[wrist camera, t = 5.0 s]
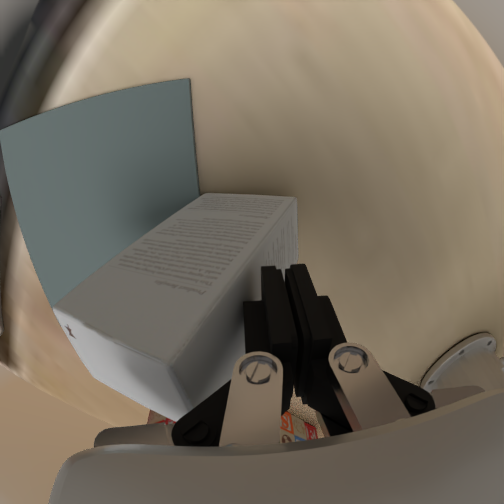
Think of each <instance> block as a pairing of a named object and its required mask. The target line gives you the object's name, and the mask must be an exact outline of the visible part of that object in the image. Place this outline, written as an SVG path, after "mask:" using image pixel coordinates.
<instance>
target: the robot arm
mask: <svg viewBox="0 0 504 504" xmlns="http://www.w3.org/2000/svg"><path fill="white" fill-rule="evenodd" d="M243 313H244V335H245V355H243V356H242V357H240V358H239V359H238V360H237V361H236V363H235V365H234V368H233V374H232V379H230V380H229V381H228V382H227V383H225V384H224V385H223V386H222V387H220V388H219V389H218V390H217V391H215V392H214V393H213V394H212V395H210V396H209V397H208V398H206V399H205V400H204V401H203V402H201V403H200V404H199V405H197V406H196V407H195V408H193V409H192V410H191V411H189V412H188V413H187V414H185V415H184V416H183V417H181V418H180V419H179V420H178V421H177V422H176V423H173V424H165V422H161V423H154V424H146V425H137V426H127V427H115V428H108V429H105V430H103V431H101V432H100V433H99V434H98V435H97V437H96V438H95V441H94V448H91V449H87V450H84V451H81V452H78V453H76V454H74V455H73V456H71V457H69V458H68V459H67V460H66V461H65V462H64V464H63V465H62V467H61V469H60V470H59V473H58V475H57V477H56V479H55V483H54V485H53V489H52V492H51V495H50V499H49V503H48V504H504V357H502V358H500V359H499V358H498V356H497V355H496V354H495V350H496V341H495V339H494V338H493V336H492V335H491V334H489V333H480V334H477V335H474V336H471V337H469V338H467V339H465V340H464V341H462V342H460V343H459V344H457V345H456V346H455V347H453V348H452V349H451V350H449V351H448V352H447V353H446V354H444V355H443V356H442V357H441V358H440V359H439V360H438V361H437V362H436V363H435V364H434V365H433V366H432V367H431V369H430V370H429V371H428V372H427V374H426V375H425V377H424V379H423V380H422V383H421V385H420V387H418V386H416V385H414V384H411V383H409V382H407V381H405V380H403V379H400V378H398V377H396V376H394V375H392V374H389V373H387V372H385V371H383V370H382V369H381V368H380V366H379V364H378V363H377V361H376V360H375V358H374V357H373V355H372V354H371V352H370V351H369V350H368V349H367V348H365V347H364V346H362V345H359V344H357V343H349V342H348V343H347V341H346V338H345V336H344V333H343V331H342V328H341V326H340V323H339V321H338V318H337V316H336V313H335V311H334V308H333V306H332V304H331V301H330V299H329V297H328V296H317V294H316V291H315V288H314V286H313V283H312V280H311V278H310V275H309V272H308V270H307V267H306V265H305V264H291V265H290V268H287V269H285V281H284V278H283V274H282V270H281V269H276V266H275V265H274V266H261V300H258V301H243ZM293 387H294V389H295V394H296V397H301V398H302V403H303V404H308V406H309V407H311V408H313V409H314V410H316V417H317V419H318V422H319V424H320V427H321V429H322V431H323V434H324V436H325V438H319V439H312V440H305V441H297V442H288V443H279V442H280V425H281V416H282V415H283V414H284V413H285V412H286V411H287V410H288V409H289V408H290V401H291V398H292V395H293Z"/></svg>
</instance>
